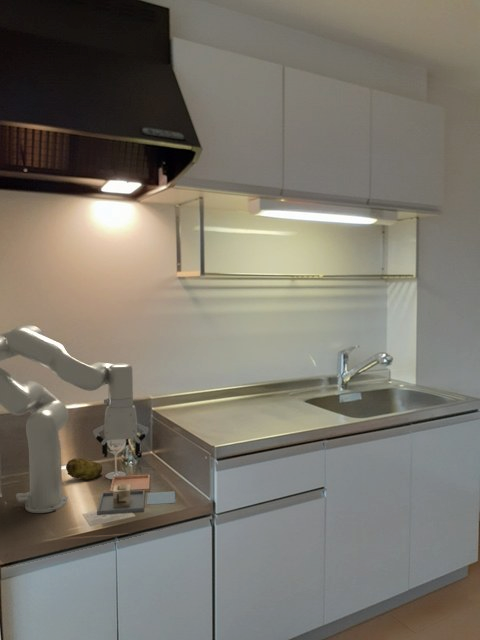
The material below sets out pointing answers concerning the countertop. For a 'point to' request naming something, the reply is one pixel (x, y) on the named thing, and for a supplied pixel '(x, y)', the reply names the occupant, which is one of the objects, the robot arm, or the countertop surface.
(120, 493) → the letter cube
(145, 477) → the terracotta tray
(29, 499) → the robot arm
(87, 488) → the countertop surface
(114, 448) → the wineglass
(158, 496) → the mat
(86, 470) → the potato
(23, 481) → the countertop surface
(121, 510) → the charcoal tray
